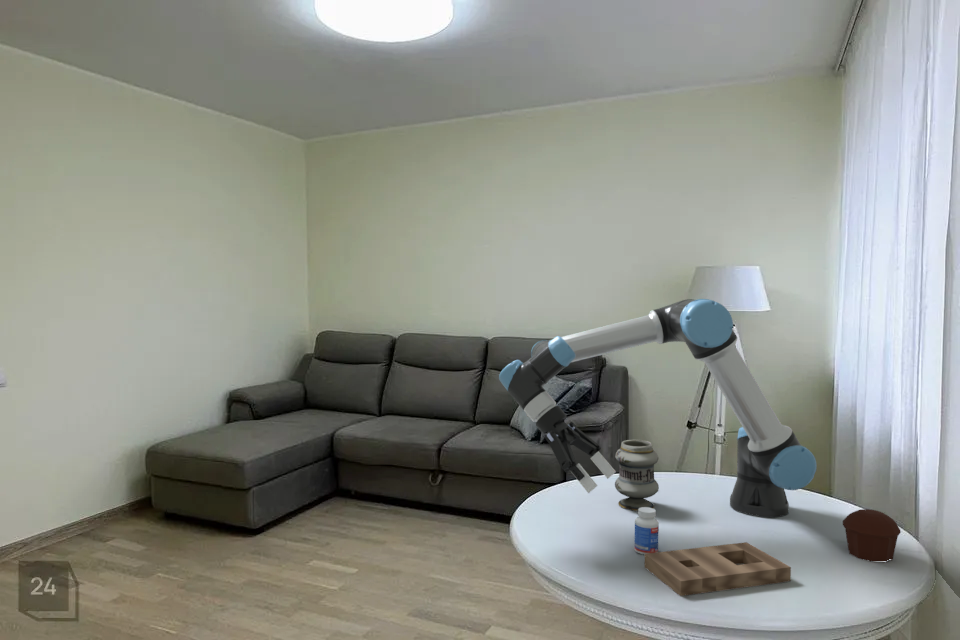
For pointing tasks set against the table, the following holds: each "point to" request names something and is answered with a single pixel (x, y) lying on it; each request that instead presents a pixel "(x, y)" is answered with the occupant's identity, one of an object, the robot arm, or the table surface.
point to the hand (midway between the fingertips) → (602, 482)
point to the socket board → (716, 568)
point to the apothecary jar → (636, 474)
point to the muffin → (871, 535)
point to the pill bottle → (646, 531)
